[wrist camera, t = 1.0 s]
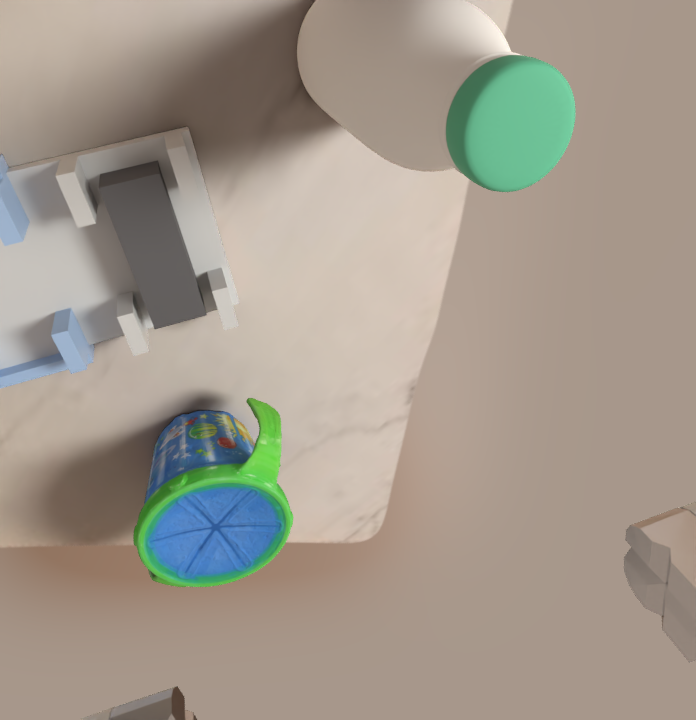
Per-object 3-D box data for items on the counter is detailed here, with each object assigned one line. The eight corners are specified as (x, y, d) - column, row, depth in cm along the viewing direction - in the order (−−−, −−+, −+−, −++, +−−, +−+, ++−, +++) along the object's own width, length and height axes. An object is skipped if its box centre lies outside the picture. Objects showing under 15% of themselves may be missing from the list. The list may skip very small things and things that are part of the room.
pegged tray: (-138, 185, 34) (-165, 210, 31) (183, 112, 37) (189, 128, 34) (-17, 377, 42) (-29, 413, 39) (240, 306, 45) (249, 333, 42)
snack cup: (210, 342, 46) (228, 428, 38) (312, 404, 52) (346, 490, 44) (87, 481, 50) (80, 586, 41) (195, 524, 55) (207, 624, 47)
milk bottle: (335, 142, 41) (470, 272, 25) (268, 29, 36) (382, 99, 20) (434, 71, 40) (638, 159, 24) (380, -53, 35) (588, -47, 19)
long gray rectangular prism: (100, 174, 37) (98, 188, 34) (157, 160, 37) (159, 173, 35) (153, 310, 42) (154, 329, 40) (202, 296, 43) (206, 314, 41)
